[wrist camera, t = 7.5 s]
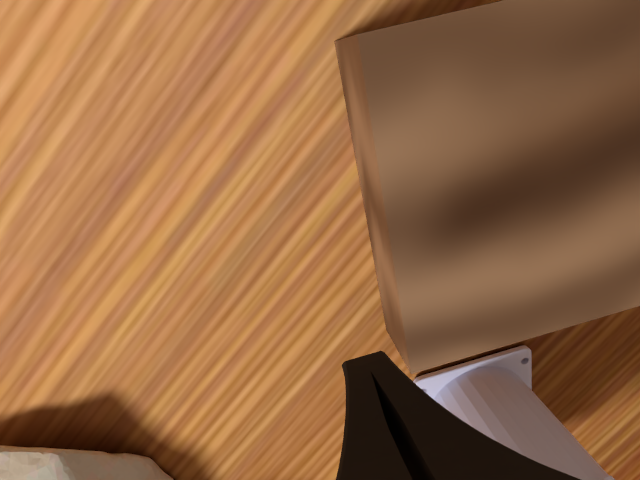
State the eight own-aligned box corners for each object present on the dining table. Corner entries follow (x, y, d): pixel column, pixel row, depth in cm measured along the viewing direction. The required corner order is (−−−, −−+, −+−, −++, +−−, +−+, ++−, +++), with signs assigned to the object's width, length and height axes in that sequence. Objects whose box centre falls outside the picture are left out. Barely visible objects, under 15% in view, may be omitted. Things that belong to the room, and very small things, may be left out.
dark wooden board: (599, 268, 26) (657, 300, 22) (386, 329, 25) (411, 373, 21) (620, -26, 20) (706, -47, 16) (334, 41, 19) (357, 34, 15)
